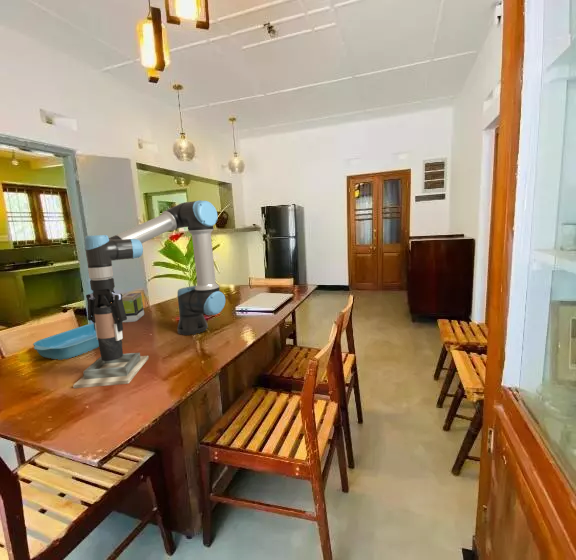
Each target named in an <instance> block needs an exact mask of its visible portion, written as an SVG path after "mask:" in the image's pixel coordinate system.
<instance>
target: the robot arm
mask: <svg viewBox="0 0 576 560" xmlns="http://www.w3.org/2000/svg"><path fill="white" fill-rule="evenodd" d="M218 218H219V217H218V212H217V209H216V207H215V206H214V205H213V203H212V202H210V201H209V200H194V201H187V202H181V203H179V204H177V205H174V206H173V207H170V208H168V209H167V210H164V211H162V213H161V214H160V215H158V216H156V217H154V218H152V219H150V220H149V219H148V220H146V221H145V222H143V223H142V222H141V224H138V225H136V226H135V225H134V227H130V228H129V229H127V230H124V231H122V232H120V233H117V234H114V235H113V236H111V237H109V236H108V235H107V234H99V235H98V234H97V235H95V234H94V235H86V236H85V237H84V239H83V240H84V242H83V243H84V250H85V257H86V263H87V271H88V277H89V278H88V279H90V280H89V286H90V290H91V291H92V293H89V294H86V295H85V297H86V300H87V302H86V303H87V320H88V321H91V322H92V323H94V329H95V330H96V336H97V329H96V322H95V313H94V307H96V308H100V307H102V306H103V305H104V304H106V306H107V307H110V306H114V305H115V306H116V307H115V308H111V309H112V316H113V318H114V320H115V323H114V331H115V338H116V341H118V340H121V339H122V340H123V338H124V337H123V336H124V335H123V331H124V326H123V323H124V322H123V321H125V320H127V317H126V313H125V309H124V305H123V301H122V295H123V294H122V293H116V291H114V289H115V279H114V278H113V277H114V272H113V264H112V261H120V260H129V259H132V260H134V259H137V258H138V259H139V258H140V257H142V255H143V253H144V248H143V244H144V243H146V242H148V241H151V240H152V239H154V238H156V237H158V236H160V235H162V234H165V233H166V232H169V231H175V230H178V229H180V228H187V232H189V233H190V234H191V237H192V247H193V255H194V264H195V266H194V267H195V273H196V281H197V282H196V283H197V285H192V286H185V287H182V288H179V289H178V290H177V303H178V311H179V320H178V323H177V328H176V329H177V334H179V335H182V334H183V335H182V336H191V335H190V334H193V335H197V334H196V333H199V334H201V333H200V332H202V333H204V332H203V331H205V330H206V329H207V328H208V329H209V325H208V322H207V320H206V318H205V316H204V315H207V316H216V315H218V314H219V313H221V312H222V311H223V309H224V308H225V305H226V296H225V294H224V293H223V292H222V291H221V290H220V285H219V284H217V281H216V274H215V264H214V263H215V262H214V253H213V252H214V251H213V244H212V243H213V242H212V233H213V231H214V226H215V224H216V223H217V222H218ZM208 329H207V330H208ZM207 330H206V331H207ZM206 331H205V332H206ZM97 340H98V337H97Z"/></svg>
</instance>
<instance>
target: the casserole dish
mask: <svg viewBox="0 0 576 560" xmlns="http://www.w3.org/2000/svg"><path fill="white" fill-rule="evenodd" d="M32 345H33V346H34V347H33V349H34V350H35V351H36V352H37V353H38V354H39V355H40V356H41V357H43V358H46V359H50V358H51V359H50V360H56V359H58V360H57V361H63V359H65V360H68V359H69V358H70V359H72V357H73V358H76V357H78V355H79V356H81V355H83V353H84V354H86V353H88V351H89V352H91V351H94V350H96V349H98V347H99V343H98V340H97V336H96V330H95V329H94V323H93V322H92V323H88V324H85V325H82V326H77V327H75V328H72V329H69V330H66V331H62V332H60V333H56V334H54V335H49V336H47V337H44V338H42V339H39V340H36V341H34V342H33V344H32ZM93 349H94V350H93ZM75 356H76V357H75ZM70 359H69V360H70Z"/></svg>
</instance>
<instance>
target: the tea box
mask: <svg viewBox="0 0 576 560" xmlns="http://www.w3.org/2000/svg"><path fill="white" fill-rule="evenodd" d="M122 301H123V305H124V309H125V313H126V317H127V320H125V321H123V322H122V323H132V322H133V323H134V322H137V321H138V320H140V319H141V318H142V317H143V316H145V311H144V304H143V303H144V302H143V295H142V292H140V291H139V292H129V293H124V294H122Z"/></svg>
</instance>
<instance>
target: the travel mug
mask: <svg viewBox="0 0 576 560" xmlns="http://www.w3.org/2000/svg"><path fill="white" fill-rule="evenodd" d="M115 307H116V306H115V305H114V306H110V307H107V306H106V304H104V305H103V306H102V307H100V308H96V307H94V313H95V322H96V329H97V337H98V343H99V352H100V357H101V359H102V360H103V361H112V360H116V359H119V358H121V357H122V356H123V354H124V351H123V341H122V340H123V339H121V340H118V341H116V338H115V331H114V323H115V320H114V318H113V316H112V309H111V308H115Z"/></svg>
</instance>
